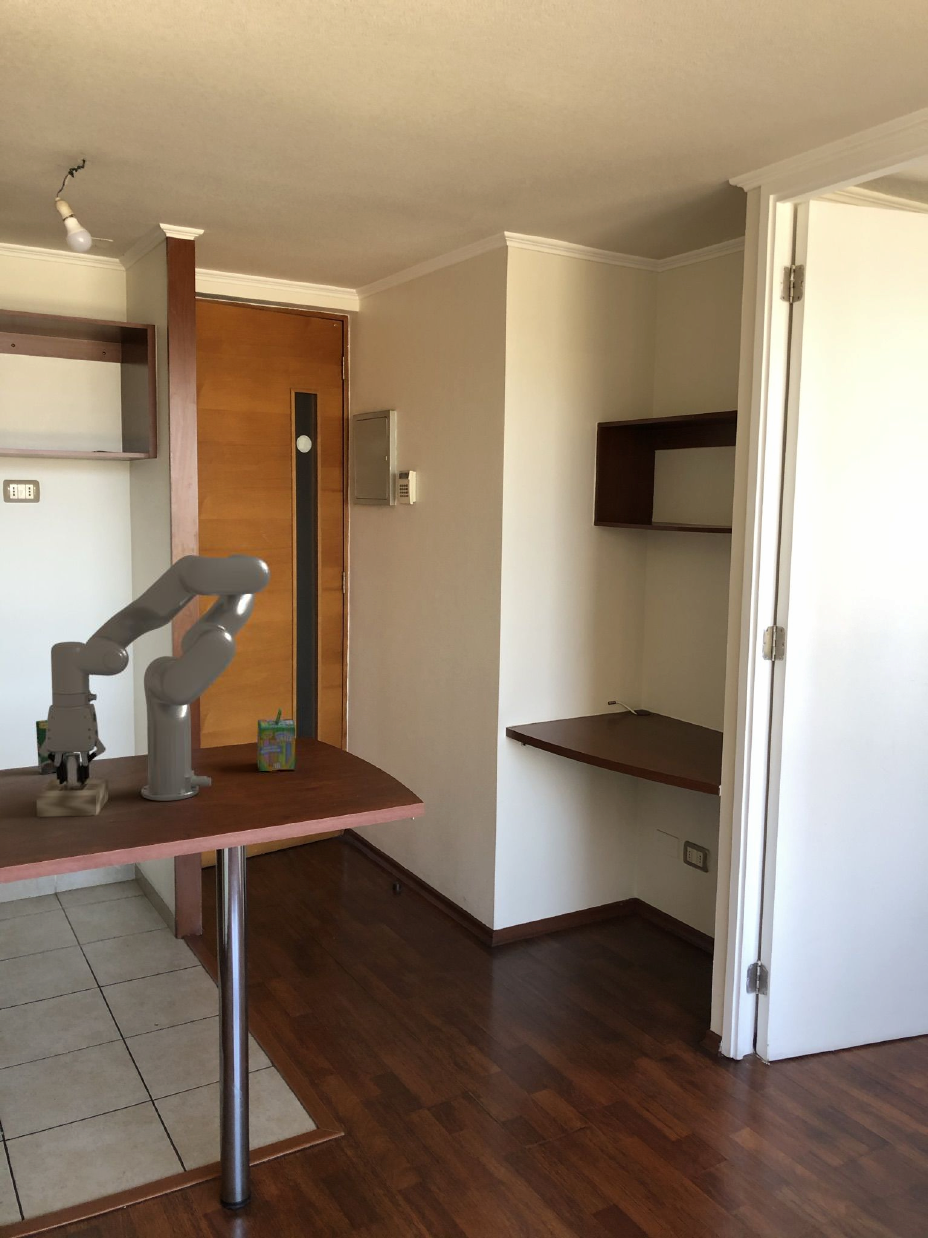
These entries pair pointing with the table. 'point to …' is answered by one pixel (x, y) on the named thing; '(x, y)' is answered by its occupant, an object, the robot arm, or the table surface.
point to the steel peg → (72, 771)
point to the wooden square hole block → (72, 799)
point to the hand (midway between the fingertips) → (73, 781)
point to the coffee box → (43, 761)
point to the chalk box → (276, 744)
